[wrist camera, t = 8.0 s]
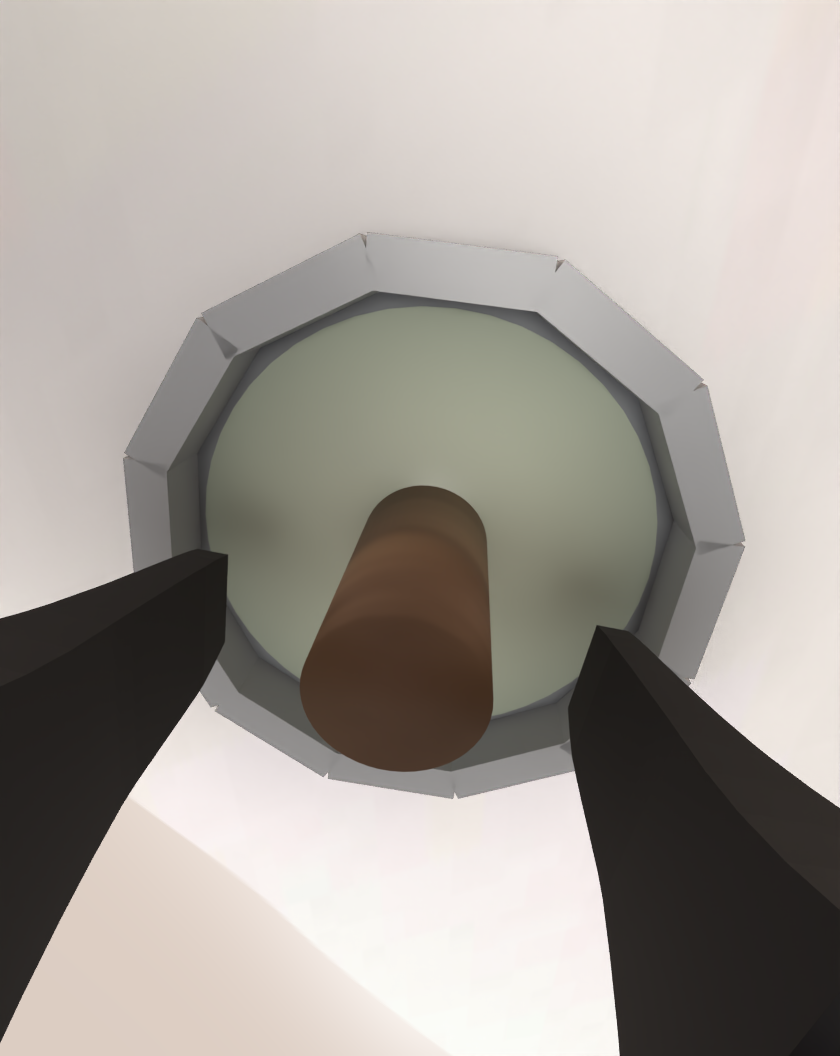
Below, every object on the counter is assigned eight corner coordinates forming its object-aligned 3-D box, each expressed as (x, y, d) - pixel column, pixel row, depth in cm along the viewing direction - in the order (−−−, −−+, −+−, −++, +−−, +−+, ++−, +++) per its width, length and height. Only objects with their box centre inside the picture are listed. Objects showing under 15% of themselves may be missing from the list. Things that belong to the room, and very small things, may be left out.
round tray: (188, 695, 19) (150, 750, 17) (161, 211, 13) (98, 198, 11) (618, 762, 18) (637, 828, 16) (779, 289, 13) (841, 292, 11)
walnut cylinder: (355, 583, 16) (290, 750, 10) (373, 473, 14) (311, 596, 9) (471, 608, 16) (469, 788, 10) (500, 500, 14) (515, 639, 9)
